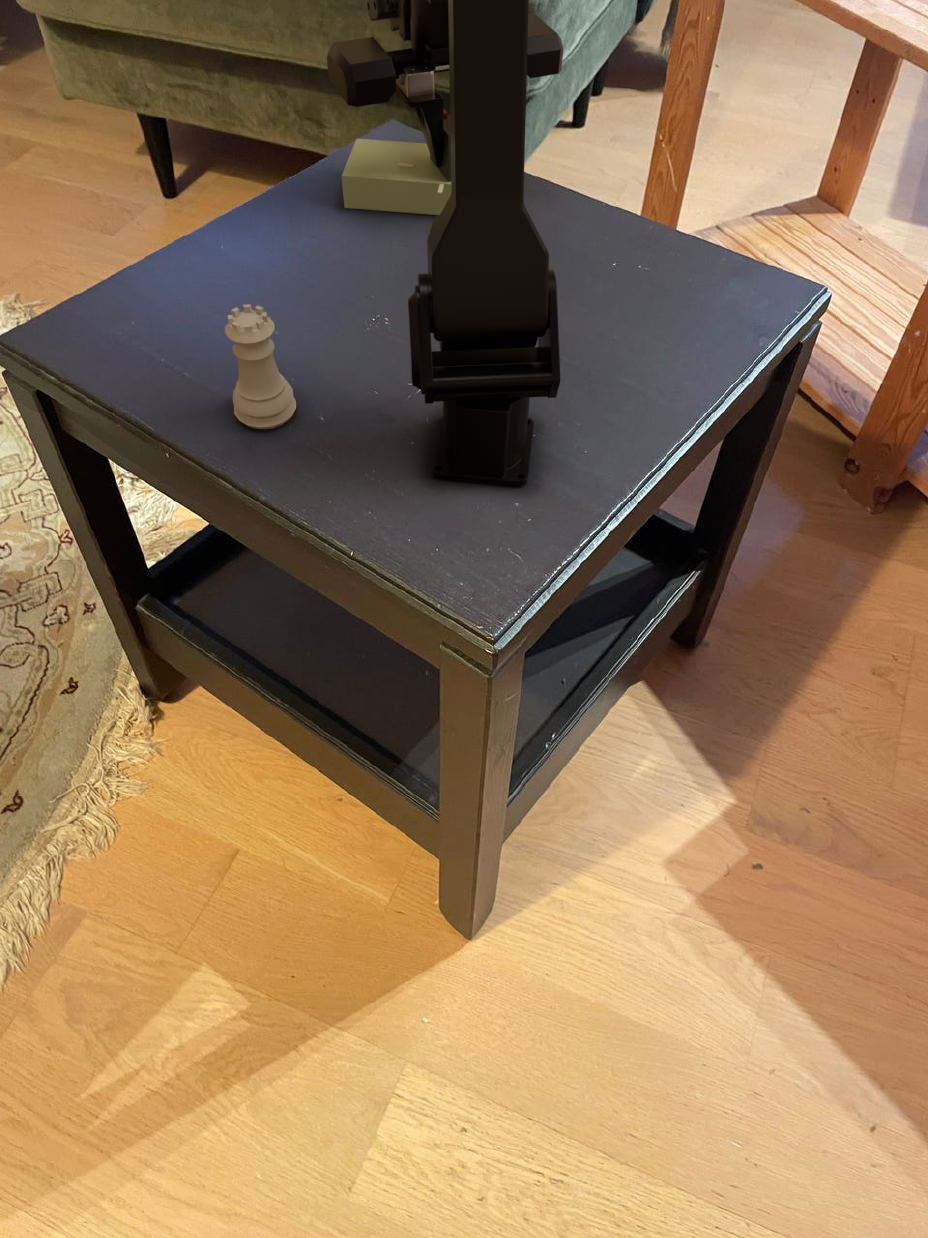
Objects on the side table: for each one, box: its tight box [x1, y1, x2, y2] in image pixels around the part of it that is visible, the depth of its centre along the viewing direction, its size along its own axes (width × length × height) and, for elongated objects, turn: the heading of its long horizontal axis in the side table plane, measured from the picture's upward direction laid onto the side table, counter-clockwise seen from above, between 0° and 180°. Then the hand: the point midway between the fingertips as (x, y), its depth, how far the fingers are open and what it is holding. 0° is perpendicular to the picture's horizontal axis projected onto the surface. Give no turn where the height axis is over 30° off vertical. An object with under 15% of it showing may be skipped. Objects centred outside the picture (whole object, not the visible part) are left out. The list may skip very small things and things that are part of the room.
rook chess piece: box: [224, 303, 297, 431], centre depth 63 cm, size 4×4×8 cm
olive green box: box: [341, 138, 451, 216], centre depth 84 cm, size 9×13×3 cm, turn 83°
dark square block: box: [430, 107, 451, 181], centre depth 81 cm, size 4×1×4 cm, turn 22°
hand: (446, 163), depth 82 cm, fingers closed on dark square block
